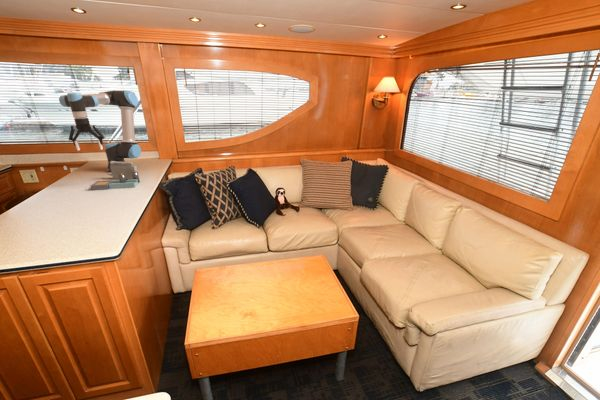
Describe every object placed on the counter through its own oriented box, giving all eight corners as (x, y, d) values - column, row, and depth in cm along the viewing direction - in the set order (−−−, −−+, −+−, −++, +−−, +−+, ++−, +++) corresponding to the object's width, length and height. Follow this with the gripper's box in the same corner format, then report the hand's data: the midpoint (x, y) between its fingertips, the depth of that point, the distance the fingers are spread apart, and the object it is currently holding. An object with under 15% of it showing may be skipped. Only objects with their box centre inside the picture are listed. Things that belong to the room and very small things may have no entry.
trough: (113, 185, 198) (112, 180, 196) (138, 183, 201) (137, 179, 200) (109, 188, 190) (108, 184, 189) (134, 187, 194) (133, 182, 193)
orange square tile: (98, 183, 194) (98, 181, 194) (109, 182, 196) (109, 181, 195) (94, 186, 188) (94, 184, 188) (105, 185, 190) (105, 184, 189)
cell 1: (121, 184, 197) (118, 172, 193) (127, 183, 198) (125, 172, 194) (119, 186, 193) (116, 174, 190) (126, 185, 194) (123, 174, 191)
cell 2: (134, 181, 206) (132, 170, 202) (140, 181, 207) (138, 170, 203) (133, 183, 202) (130, 172, 199) (139, 182, 203) (136, 171, 200)
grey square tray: (98, 185, 196) (96, 181, 195) (113, 184, 198) (112, 180, 197) (91, 190, 187) (90, 185, 186) (108, 189, 189) (106, 184, 188)
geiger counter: (136, 161, 208) (106, 159, 210) (131, 163, 202) (99, 161, 204) (140, 178, 213) (110, 177, 215) (135, 180, 207) (104, 179, 209)
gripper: (55, 119, 173) (66, 152, 181) (100, 118, 179) (109, 150, 188) (61, 117, 179) (71, 149, 188) (104, 116, 186) (112, 147, 194)
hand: (90, 149), depth 188 cm, fingers open, 13 cm apart
